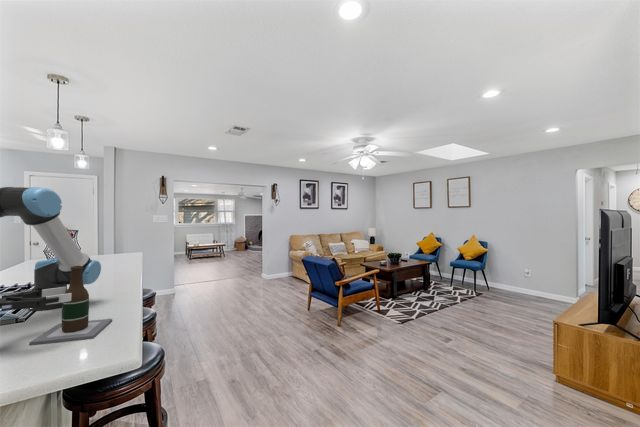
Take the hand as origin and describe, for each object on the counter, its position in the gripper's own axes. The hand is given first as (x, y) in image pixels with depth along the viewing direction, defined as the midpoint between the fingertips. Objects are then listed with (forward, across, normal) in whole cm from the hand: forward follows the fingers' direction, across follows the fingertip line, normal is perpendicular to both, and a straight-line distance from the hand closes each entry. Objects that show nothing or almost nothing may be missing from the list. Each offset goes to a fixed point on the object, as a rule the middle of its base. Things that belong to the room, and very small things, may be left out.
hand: (68, 293), depth 104 cm
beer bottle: (+2, 0, -14) cm, 14 cm away
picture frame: (+2, 0, -15) cm, 15 cm away
